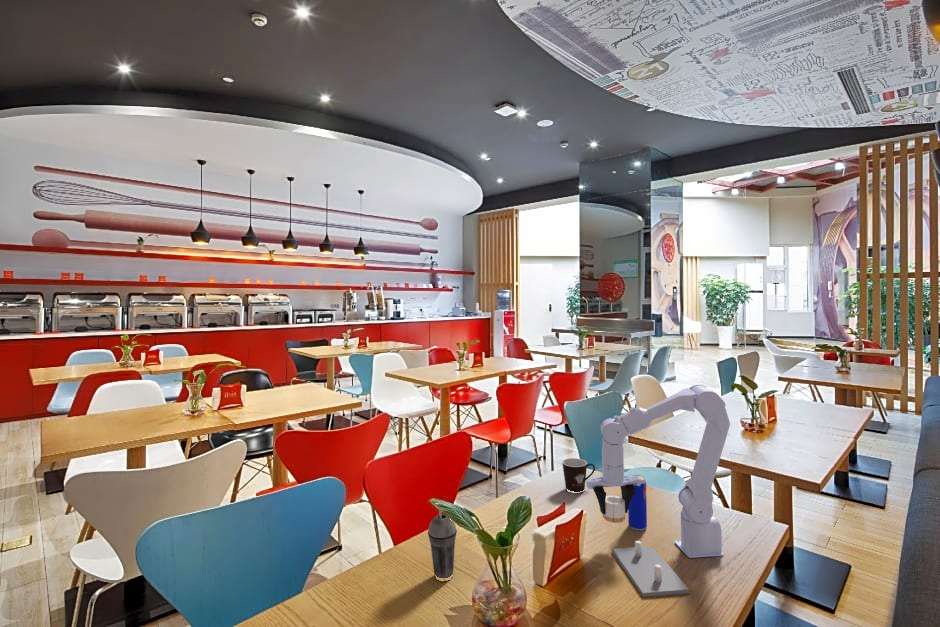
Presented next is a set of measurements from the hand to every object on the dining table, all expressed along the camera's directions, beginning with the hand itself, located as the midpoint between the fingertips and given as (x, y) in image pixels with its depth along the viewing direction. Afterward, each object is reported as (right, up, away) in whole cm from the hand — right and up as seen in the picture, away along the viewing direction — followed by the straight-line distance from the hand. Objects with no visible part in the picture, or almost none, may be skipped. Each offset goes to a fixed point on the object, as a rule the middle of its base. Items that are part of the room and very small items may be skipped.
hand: (613, 512), depth 131 cm
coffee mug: (-1, -8, +37) cm, 38 cm away
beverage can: (+10, -9, +10) cm, 17 cm away
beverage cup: (-46, -12, -12) cm, 49 cm away
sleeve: (0, -2, 0) cm, 2 cm away
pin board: (+5, -10, -12) cm, 16 cm away
